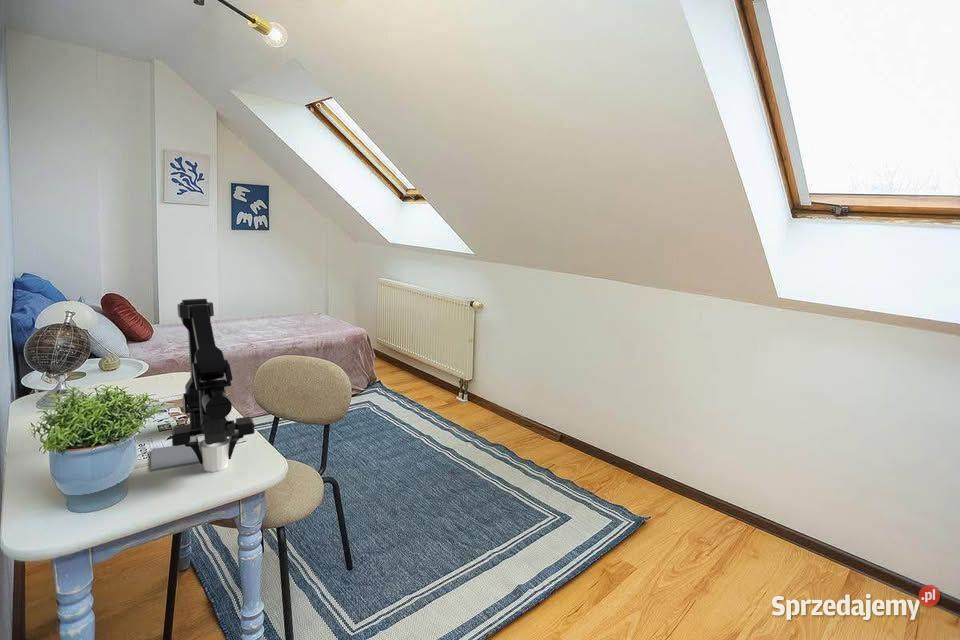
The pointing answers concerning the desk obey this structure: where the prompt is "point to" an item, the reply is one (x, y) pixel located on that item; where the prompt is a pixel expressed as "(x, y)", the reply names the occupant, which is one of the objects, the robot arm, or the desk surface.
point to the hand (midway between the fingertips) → (215, 461)
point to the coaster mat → (172, 457)
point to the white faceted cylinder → (214, 455)
